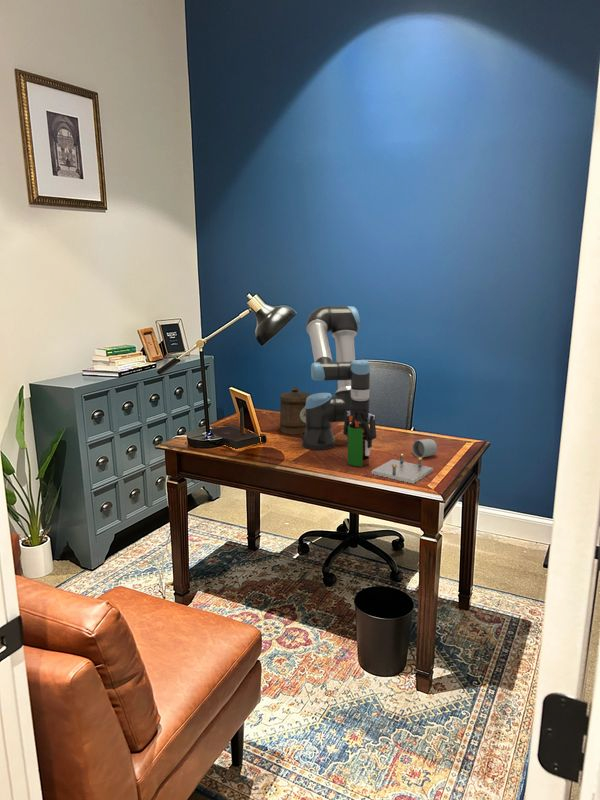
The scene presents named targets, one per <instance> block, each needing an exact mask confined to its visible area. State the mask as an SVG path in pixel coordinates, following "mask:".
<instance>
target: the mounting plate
mask: <svg viewBox="0 0 600 800" xmlns="http://www.w3.org/2000/svg"><path fill="white" fill-rule="evenodd" d="M399 456H400V457H399V458H400V459H399V460H398V459H390V460H389V461H387V462H384V463H383V464H381V465H380V466H377V467H375V468H374V469H372V470H371V475H373V474H374V475H373V476H377V475H378V476H377V477H381V476H383V477H382V478H386V477H388V478H387V479H390V478H391V479H392V480H394V479H395V480H394V481H400V482H403V481H404V483H407V482H408V483H407V484H411V483H412V485H414V484H416V483H417V482H418V481H421V480H423V478H426V476H428V475H429V474H431V473H433V472H434V467H431V466H426V465H422V463H423V462H422V460H423V458H422V457H417V460H418V464H416V463H411V462H407V461H404V457H405V453H401V452H400V453H399ZM415 482H416V483H415Z"/></svg>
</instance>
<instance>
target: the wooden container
mask: <svg viewBox="0 0 600 800" xmlns="http://www.w3.org/2000/svg"><path fill="white" fill-rule="evenodd" d="M310 395H311V394H310V393H309V392H305V391H299V387H297V386H293V387H291V391H288V392H281V394H280V397H279V398H280V399H279V401H280V407H279V408H280V411H279V416H280V417H279V423H280V424H279V429H280V430H279V431H280V432H281V433H283V434H287V435H304V434H303V433H304V432H305V429H306V409H305V406H306V399H307V397H308V396H310Z"/></svg>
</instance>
